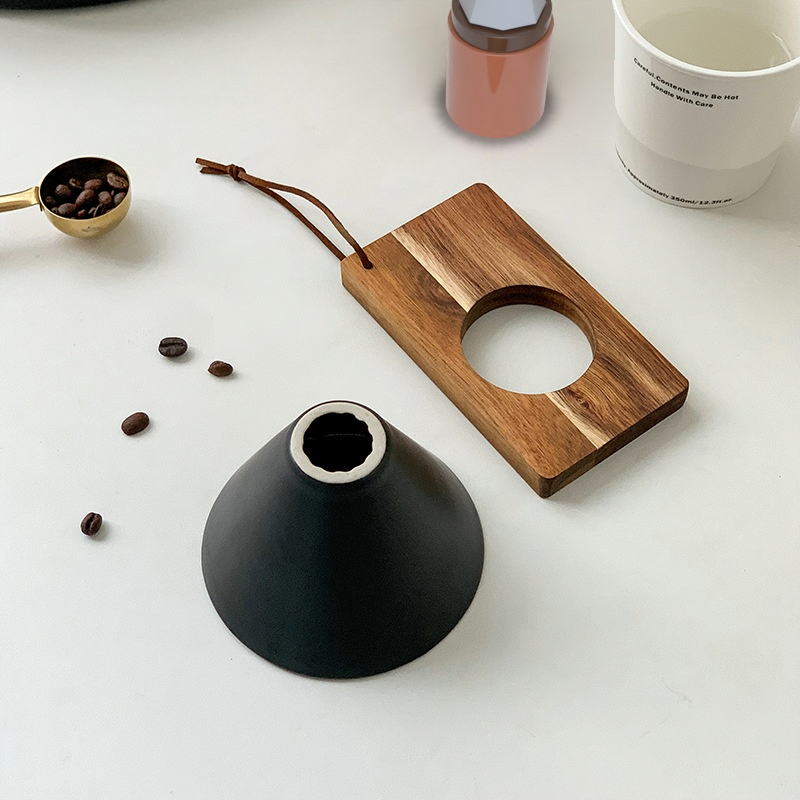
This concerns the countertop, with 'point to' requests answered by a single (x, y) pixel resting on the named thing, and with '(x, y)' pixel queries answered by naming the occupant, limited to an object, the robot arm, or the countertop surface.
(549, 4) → the jar
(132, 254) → the countertop surface
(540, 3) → the flask
